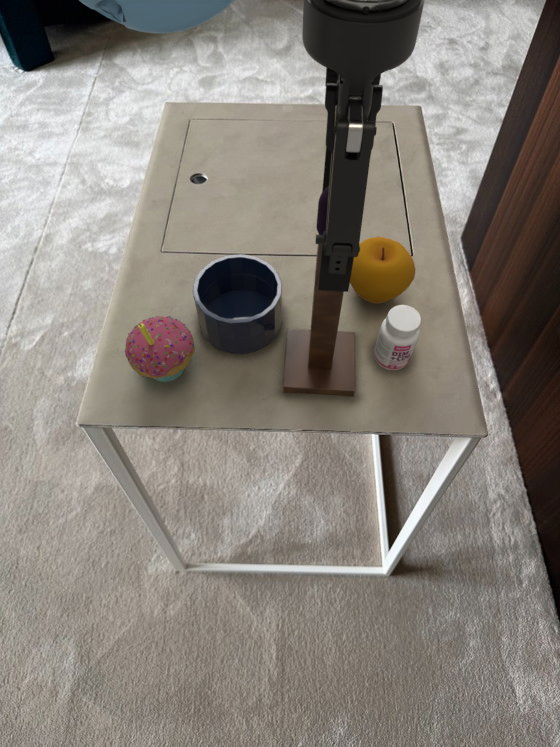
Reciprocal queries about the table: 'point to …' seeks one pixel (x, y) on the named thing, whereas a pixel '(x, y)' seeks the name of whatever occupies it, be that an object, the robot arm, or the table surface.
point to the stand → (321, 349)
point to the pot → (238, 303)
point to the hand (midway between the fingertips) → (334, 241)
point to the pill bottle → (397, 337)
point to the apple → (381, 270)
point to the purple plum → (322, 211)
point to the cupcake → (160, 348)
